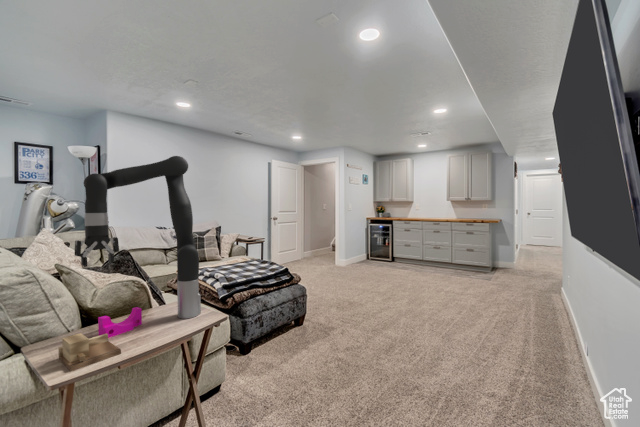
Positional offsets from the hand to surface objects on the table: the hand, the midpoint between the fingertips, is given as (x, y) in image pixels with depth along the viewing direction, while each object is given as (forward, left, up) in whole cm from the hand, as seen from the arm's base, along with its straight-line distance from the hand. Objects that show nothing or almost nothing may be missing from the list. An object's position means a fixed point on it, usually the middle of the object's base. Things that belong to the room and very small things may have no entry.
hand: (98, 264), depth 118 cm
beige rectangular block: (+12, +16, -27) cm, 34 cm away
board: (+8, +17, -29) cm, 34 cm away
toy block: (-8, +1, -29) cm, 30 cm away
